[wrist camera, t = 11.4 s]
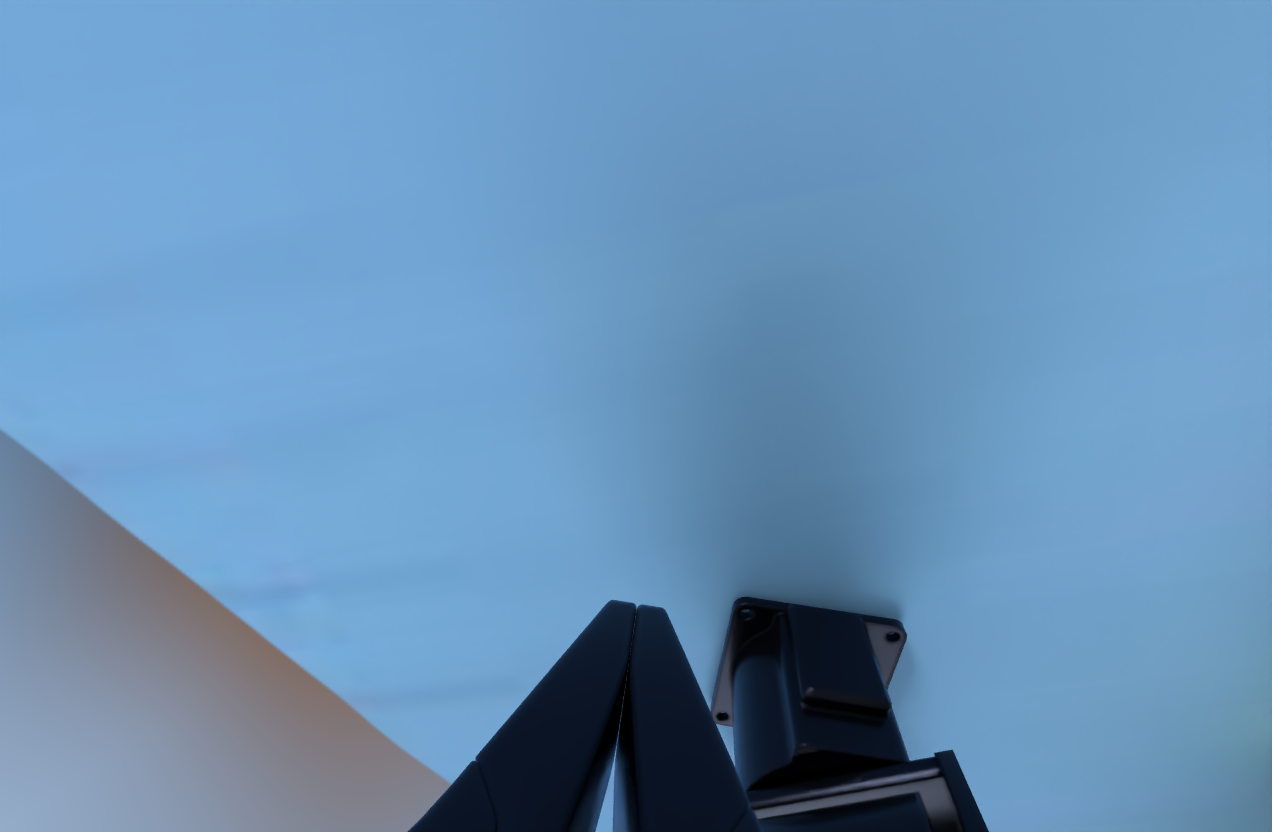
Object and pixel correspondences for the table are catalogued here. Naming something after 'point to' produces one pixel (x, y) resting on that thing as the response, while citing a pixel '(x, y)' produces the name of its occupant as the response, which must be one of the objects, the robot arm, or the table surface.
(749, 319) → the table surface
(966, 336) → the table surface
